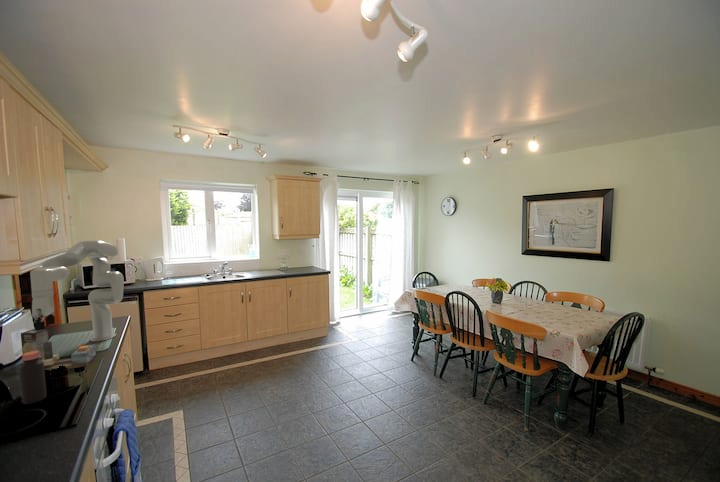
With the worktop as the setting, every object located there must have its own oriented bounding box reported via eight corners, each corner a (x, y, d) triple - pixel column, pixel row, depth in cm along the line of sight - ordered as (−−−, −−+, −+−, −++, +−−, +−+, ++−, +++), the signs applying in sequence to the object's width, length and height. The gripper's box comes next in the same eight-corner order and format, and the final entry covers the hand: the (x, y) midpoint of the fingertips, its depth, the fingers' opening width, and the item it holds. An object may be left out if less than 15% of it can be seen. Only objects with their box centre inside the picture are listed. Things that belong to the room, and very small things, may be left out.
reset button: (81, 351, 161) (80, 346, 161) (89, 350, 163) (88, 345, 163) (78, 354, 158) (78, 348, 158) (86, 353, 160) (86, 347, 160)
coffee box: (22, 362, 162) (19, 333, 161) (36, 357, 169) (33, 328, 168) (37, 362, 161) (34, 333, 160) (50, 357, 168) (48, 329, 167)
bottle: (31, 405, 122) (26, 357, 121) (18, 403, 124) (13, 356, 122) (51, 396, 129) (47, 350, 128) (38, 394, 130) (34, 349, 129)
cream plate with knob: (46, 360, 158) (45, 340, 157) (59, 358, 160) (57, 339, 159) (38, 367, 150) (36, 346, 150) (51, 364, 152) (49, 344, 152)
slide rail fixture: (41, 365, 158) (40, 352, 158) (96, 356, 168) (95, 344, 167) (28, 375, 147) (26, 361, 147) (87, 365, 157) (86, 352, 156)
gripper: (42, 291, 159) (44, 323, 160) (22, 297, 143) (25, 333, 144) (61, 289, 162) (63, 321, 163) (43, 296, 146) (46, 330, 147)
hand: (45, 326), depth 154 cm, fingers open, 9 cm apart
